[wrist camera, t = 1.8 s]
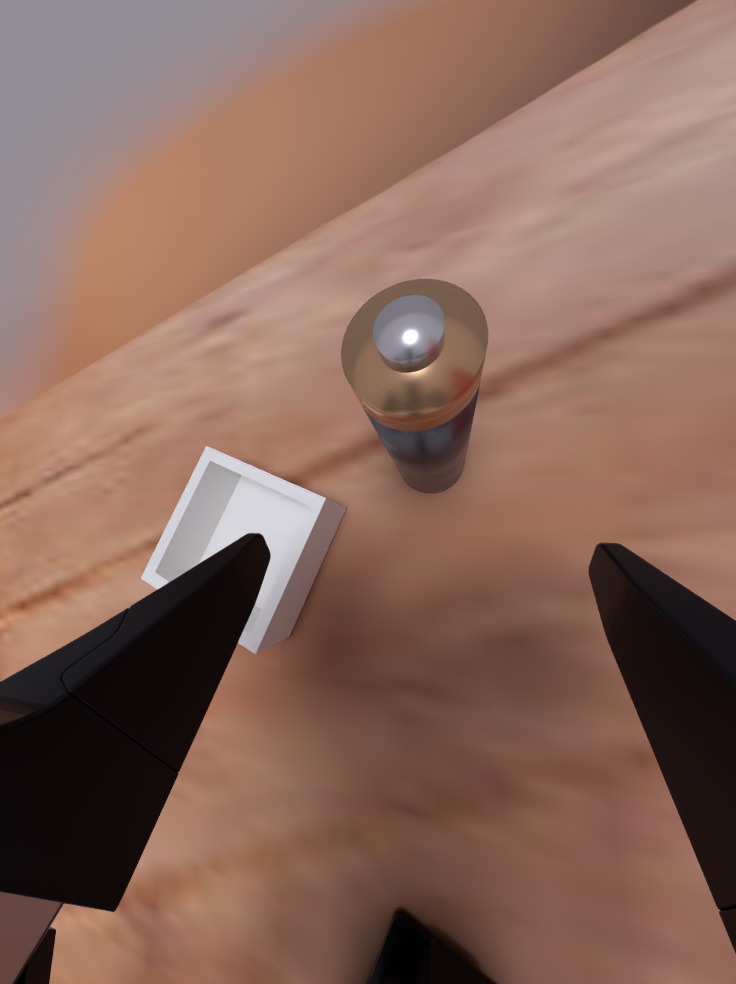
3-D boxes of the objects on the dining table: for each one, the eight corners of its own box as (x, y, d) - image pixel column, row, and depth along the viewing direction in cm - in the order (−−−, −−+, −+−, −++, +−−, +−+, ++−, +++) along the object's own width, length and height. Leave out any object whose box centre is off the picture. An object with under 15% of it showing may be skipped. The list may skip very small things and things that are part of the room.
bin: (289, 636, 21) (255, 654, 18) (188, 574, 24) (140, 578, 20) (346, 507, 22) (325, 498, 18) (242, 462, 25) (206, 446, 21)
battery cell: (449, 502, 21) (453, 419, 8) (389, 479, 22) (309, 375, 9) (474, 442, 21) (516, 271, 8) (413, 423, 22) (369, 248, 10)
